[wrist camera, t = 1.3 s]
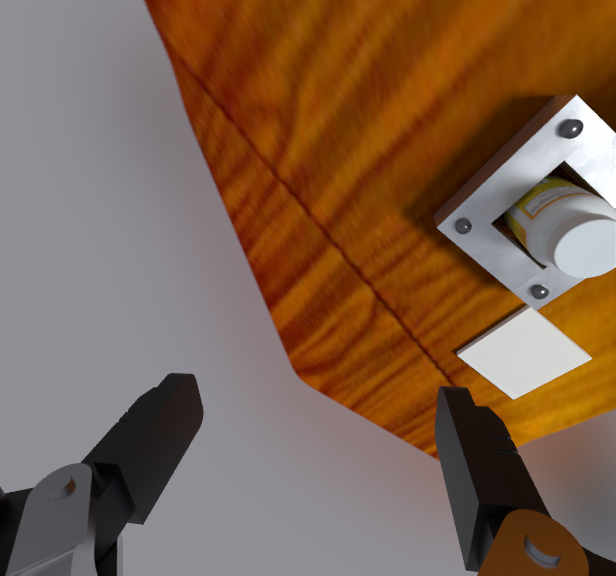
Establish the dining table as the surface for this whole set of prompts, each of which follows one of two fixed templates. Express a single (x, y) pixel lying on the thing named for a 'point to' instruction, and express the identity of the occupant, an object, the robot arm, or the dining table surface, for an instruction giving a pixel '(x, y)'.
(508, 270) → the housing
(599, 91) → the dining table surface
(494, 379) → the mat
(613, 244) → the supplement bottle
